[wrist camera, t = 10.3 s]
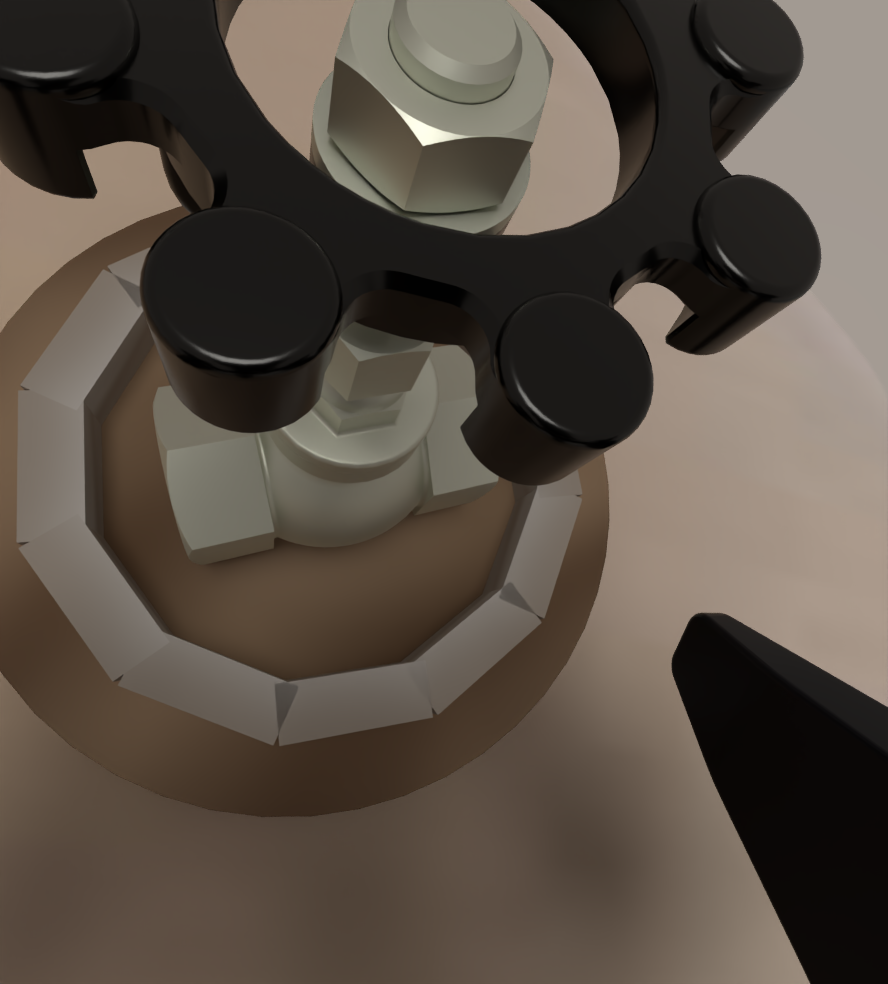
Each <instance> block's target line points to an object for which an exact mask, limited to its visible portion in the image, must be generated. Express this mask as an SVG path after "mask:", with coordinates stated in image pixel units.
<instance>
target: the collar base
mask: <svg viewBox="0 0 888 984" xmlns="http://www.w3.org/2000/svg"><path fill="white" fill-rule="evenodd" d="M189 214H190V213H189V212H188V211H187V210H186V209H185V208H184V207H183V206H181V207H177V208H174V209H172V210H169V211H166V212H163V213H160V214H157V215H154V216H151V217H149V218H146V219H143V220H140V221H138V222H136V223H134V224H132V225H130V226H128V227H126V228H124V229H122V230H120V231H118V232H116V233H114V234H112V235H110V236H108V237H106V238H104V239H102V240H100V241H99V242H97V243H96V244H94V245H93V246H91V247H90V248H88V249H87V250H85V251H84V252H82V253H81V254H79V255H78V256H76V257H75V258H73V259H72V260H70V261H69V262H67V263H66V264H65V265H64V266H63V267H62V268H61V269H59V270H58V271H57V272H56V273H55V274H54V275H52V276H51V277H50V278H49V279H48V280H47V281H46V282H44V283H43V284H42V285H41V286H40V287H39V288H37V289H36V290H35V292H34V293H33V294H32V295H31V296H30V297H29V298H28V300H27V301H26V302H25V303H24V304H23V305H22V306H21V308H20V309H19V310H18V311H17V312H16V313H15V314H14V316H13V317H12V318H11V319H10V320H9V321H8V322H7V324H6V326H5V327H4V329H3V330H2V332H1V333H0V671H1V673H2V674H3V676H4V677H5V678H6V679H7V680H8V682H9V683H10V684H11V685H12V686H13V688H14V689H15V690H16V691H17V693H18V694H19V695H20V696H21V697H22V699H23V700H24V701H25V702H26V704H27V705H28V706H29V707H30V708H31V710H32V711H33V712H34V713H35V714H36V715H37V716H38V717H39V718H40V719H42V720H43V721H44V722H45V723H46V724H47V725H48V726H49V727H51V728H52V729H53V730H54V731H55V732H56V733H57V734H58V735H60V736H61V737H62V738H63V739H64V740H65V741H66V742H67V743H69V744H70V745H71V746H72V747H73V748H75V749H76V750H78V751H79V752H81V753H83V754H84V755H86V756H87V757H89V758H90V759H92V760H93V761H95V762H97V763H98V764H100V765H101V766H103V767H104V768H106V769H107V770H109V771H110V772H112V773H114V774H115V775H117V776H119V777H121V778H124V779H126V780H128V781H130V782H133V783H135V784H137V785H139V786H141V787H144V788H146V789H148V790H150V791H152V792H155V793H157V794H159V795H161V796H164V797H168V798H171V799H175V800H178V801H182V802H185V803H189V804H192V805H196V806H199V807H203V808H206V809H210V810H215V811H223V812H230V813H238V814H245V815H253V816H260V817H280V816H316V815H323V814H329V813H336V812H342V811H349V810H356V809H361V808H364V807H368V806H371V805H374V804H378V803H381V802H384V801H388V800H391V799H395V798H398V797H401V796H404V795H407V794H409V793H411V792H413V791H416V790H418V789H420V788H422V787H424V786H427V785H429V784H431V783H433V782H435V781H438V780H440V779H442V778H444V777H446V776H448V775H449V774H451V773H453V772H454V771H456V770H457V769H459V768H461V767H462V766H464V765H465V764H467V763H469V762H470V761H472V760H473V759H475V758H477V757H478V756H480V755H481V754H483V753H484V752H485V751H487V750H488V749H489V748H490V747H491V746H493V745H494V744H495V743H496V742H497V741H499V740H500V739H501V738H502V737H503V736H505V735H506V734H507V733H508V732H509V731H511V730H512V729H513V728H514V727H515V726H516V725H517V724H518V723H519V722H520V721H521V720H522V719H523V718H524V717H525V716H526V714H527V713H528V712H529V711H530V710H531V709H532V708H533V707H534V706H535V705H536V704H537V702H538V701H539V700H540V699H541V698H542V697H543V696H544V695H545V693H546V692H547V690H548V689H549V687H550V686H551V685H552V683H553V682H554V680H555V679H556V677H557V676H558V675H559V673H560V672H561V670H562V669H563V667H564V666H565V665H566V663H567V661H568V659H569V657H570V656H571V654H572V652H573V650H574V648H575V646H576V644H577V642H578V640H579V638H580V636H581V634H582V632H583V630H584V628H585V626H586V623H587V621H588V618H589V615H590V612H591V609H592V607H593V604H594V601H595V598H596V596H597V593H598V589H599V584H600V580H601V576H602V571H603V567H604V562H605V558H606V550H607V539H608V529H609V490H608V479H607V472H606V465H605V459H604V453H603V454H601V455H600V456H598V457H596V458H595V459H593V460H592V461H590V462H588V463H587V464H585V465H584V466H582V467H580V468H579V469H577V470H576V471H574V472H572V473H571V474H569V475H568V476H566V477H564V478H563V479H561V480H559V481H556V482H553V483H550V484H546V485H539V486H528V485H521V484H516V483H513V482H510V481H507V480H505V479H503V478H501V477H499V478H498V482H497V484H496V485H495V487H493V488H492V489H491V490H490V491H489V492H487V493H486V494H485V495H483V496H482V497H480V498H478V499H476V500H475V501H473V502H470V503H466V504H461V505H457V506H453V507H449V508H444V509H440V510H436V511H432V512H427V513H423V514H419V515H414V514H413V512H412V511H411V512H410V513H409V514H408V515H407V516H406V517H405V518H404V519H403V520H401V521H400V522H399V523H398V524H396V525H395V526H394V527H392V528H391V529H389V530H388V531H386V532H384V533H382V534H380V535H378V536H376V537H374V538H372V539H369V540H367V541H364V542H360V543H357V544H352V545H347V546H340V547H312V546H305V545H301V544H296V543H293V542H289V541H286V540H284V539H281V538H278V537H277V538H275V539H274V549H269V550H265V551H261V552H256V553H252V554H248V555H244V556H239V557H235V558H231V559H227V560H222V561H218V562H214V563H209V564H205V565H200V564H196V563H194V562H192V561H191V560H190V559H189V557H188V555H187V553H186V551H185V548H184V545H183V542H182V539H181V536H180V533H179V529H178V526H177V523H176V519H175V516H174V512H173V508H172V504H171V500H170V496H169V492H168V488H167V484H166V480H165V475H164V471H163V466H162V462H161V457H160V452H159V447H158V441H157V436H156V430H155V423H154V415H153V401H154V398H155V395H156V392H157V389H158V387H164V386H171V385H170V383H169V381H168V378H167V375H166V373H165V370H164V367H163V364H162V361H161V359H160V356H159V353H158V350H157V348H156V345H155V342H154V340H153V337H152V334H151V331H150V329H149V326H148V323H147V320H146V318H145V315H144V311H143V308H142V305H141V298H140V289H139V286H140V274H141V270H142V266H143V263H144V260H145V257H146V255H147V253H148V251H149V249H150V248H151V246H152V244H153V243H154V241H155V240H156V239H157V238H158V237H159V236H160V234H161V233H162V232H163V231H164V230H165V229H167V228H168V227H169V226H171V225H172V224H173V223H174V222H176V221H177V220H179V219H181V218H183V217H185V216H187V215H189ZM440 346H447V345H446V344H435V343H434V344H433V347H440ZM457 346H459V345H457ZM459 347H460V348H461V349H462V350H463V351H464V352H465V353H467V354H468V355H469V356H470V354H469V353H468V351H467V350H466V348H465V347H464V346H459Z"/></svg>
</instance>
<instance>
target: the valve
mask: <svg viewBox="0 0 888 984" xmlns="http://www.w3.org/2000/svg"><path fill="white" fill-rule="evenodd" d="M242 1H243V0H0V160H1V162H2V163H3V164H4V165H5V166H6V167H7V168H8V169H9V170H10V171H11V172H12V173H13V174H15V175H16V176H18V177H19V178H21V179H22V180H24V181H25V182H27V183H28V184H30V185H32V186H33V187H36V188H38V189H41V190H43V191H46V192H49V193H51V194H54V195H59V196H65V197H70V198H86V199H94V197H95V196H96V194H97V189H96V187H95V184H94V181H93V178H92V176H91V173H90V170H89V167H88V165H87V162H86V159H85V157H84V153H83V150H85V149H92V148H96V147H100V146H103V145H107V144H111V143H115V142H122V141H133V142H143V143H147V144H151V145H153V146H156V147H159V151H160V155H161V160H162V164H163V168H164V171H165V174H166V177H167V180H168V182H169V185H170V188H171V189H172V191H173V192H174V194H175V195H176V197H177V199H178V200H179V202H180V203H181V205H182V206H183V207H184V208H185V209H186V210H187V211H188V212H189V213H190V214H189V215H187V216H185V217H183V218H181V219H179V220H177V221H176V222H174V223H173V224H172V225H171V226H169V227H168V228H167V229H165V230H164V231H163V232H162V233H161V234H160V236H159V237H158V238H157V239H156V240H155V241H154V243H153V244H152V246H151V248H150V249H149V251H148V253H147V255H146V257H145V260H144V263H143V266H142V270H141V274H140V286H139V289H140V298H141V305H142V308H143V311H144V315H145V318H146V320H147V323H148V326H149V329H150V331H151V334H152V337H153V340H154V342H155V345H156V348H157V350H158V353H159V356H160V359H161V361H162V364H163V367H164V370H165V373H166V375H167V378H168V381H169V383H170V385H171V386H164V387H158V389H157V392H156V395H155V398H154V401H153V415H154V423H155V430H156V436H157V441H158V447H159V452H160V457H161V462H162V466H163V471H164V475H165V480H166V484H167V488H168V492H169V496H170V500H171V504H172V508H173V512H174V516H175V519H176V523H177V526H178V529H179V533H180V536H181V539H182V542H183V545H184V548H185V551H186V553H187V555H188V557H189V559H190V560H191V561H192V562H194V563H196V564H200V565H205V564H209V563H214V562H218V561H222V560H227V559H231V558H235V557H239V556H244V555H248V554H252V553H256V552H261V551H265V550H269V549H274V539H275V538H277V537H278V538H281V539H284V540H286V541H289V542H293V543H296V544H301V545H305V546H312V547H340V546H347V545H352V544H357V543H360V542H364V541H367V540H369V539H372V538H374V537H376V536H378V535H380V534H382V533H384V532H386V531H388V530H389V529H391V528H392V527H394V526H395V525H396V524H398V523H399V522H400V521H401V520H403V519H404V518H405V517H406V516H407V515H408V514H409V513H410V512H411V511H412V512H413V514H414V515H419V514H423V513H427V512H432V511H436V510H440V509H444V508H449V507H453V506H457V505H461V504H466V503H470V502H473V501H475V500H476V499H478V498H480V497H482V496H483V495H485V494H486V493H487V492H489V491H490V490H491V489H492V488H493V487H495V485H496V484H497V482H498V478H499V477H501V478H503V479H505V480H507V481H510V482H513V483H516V484H521V485H528V486H539V485H546V484H550V483H553V482H556V481H559V480H561V479H563V478H564V477H566V476H568V475H569V474H571V473H572V472H574V471H576V470H577V469H579V468H580V467H582V466H584V465H585V464H587V463H588V462H590V461H592V460H593V459H595V458H596V457H598V456H600V455H601V454H603V453H604V452H606V451H608V450H609V449H611V448H612V447H614V446H616V445H617V444H619V443H620V442H622V441H624V440H625V439H627V438H628V437H629V436H630V435H631V434H632V433H633V432H634V431H635V430H636V429H638V427H639V426H640V424H641V423H642V421H643V420H644V418H645V417H646V414H647V412H648V410H649V407H650V405H651V400H652V395H653V371H652V365H651V362H650V358H649V355H648V352H647V350H646V348H645V346H644V344H643V342H642V340H641V338H640V337H639V335H638V334H637V332H636V331H635V330H634V328H633V327H632V325H631V324H630V323H629V322H628V321H627V320H626V319H625V318H624V317H623V316H622V315H621V314H620V313H619V312H617V311H616V310H614V305H615V304H616V303H617V302H618V301H619V300H620V299H621V298H622V297H623V296H624V295H625V294H626V293H627V292H628V291H629V290H630V289H631V288H632V287H633V286H634V285H635V284H638V283H644V282H650V283H656V284H659V285H661V286H664V287H666V288H667V289H669V290H670V291H672V292H673V293H674V294H675V295H676V296H677V297H678V298H679V299H680V300H681V301H682V302H683V303H684V304H685V306H684V308H683V310H682V312H681V314H680V315H679V317H678V318H677V320H676V321H675V323H674V325H673V326H672V328H671V329H670V331H669V332H668V334H667V335H666V343H667V344H668V345H670V346H672V347H674V348H675V349H677V350H680V351H683V352H686V353H689V354H694V355H709V354H715V353H717V352H720V351H722V350H724V349H726V348H727V347H729V346H730V345H732V344H733V343H735V342H736V341H738V340H739V339H741V338H742V337H744V336H745V335H746V334H748V333H749V332H751V331H752V330H754V329H755V328H757V327H758V326H760V325H761V324H762V323H764V322H765V321H767V320H768V319H770V318H771V317H773V316H774V315H776V314H777V313H778V312H780V311H781V310H783V309H784V308H786V307H787V306H789V305H790V304H792V303H793V302H794V301H796V300H797V299H799V298H800V297H802V296H803V295H804V294H805V293H806V292H807V291H808V290H809V289H810V288H811V287H812V285H813V284H814V282H815V280H816V278H817V276H818V273H819V270H820V263H821V248H820V243H819V239H818V235H817V232H816V230H815V227H814V225H813V224H812V222H811V220H810V218H809V216H808V215H807V213H806V212H805V211H804V210H803V208H802V207H801V205H800V204H799V203H798V202H797V201H796V200H795V199H794V198H793V197H792V196H791V195H790V194H789V193H787V192H786V191H784V190H783V189H781V188H780V187H779V186H777V185H776V184H773V183H771V182H769V181H767V180H765V179H763V178H759V177H755V176H751V175H733V176H732V175H731V174H730V173H729V172H728V171H727V170H726V169H725V168H724V167H723V165H722V164H721V163H720V161H722V160H723V159H724V158H726V157H727V156H728V155H729V154H730V152H731V151H732V150H733V149H734V148H735V147H736V146H737V145H738V144H739V143H740V141H741V140H742V139H743V138H744V137H745V136H746V135H747V134H748V133H749V131H750V130H751V129H752V128H753V127H754V126H755V125H756V124H757V122H758V121H759V120H760V119H761V118H762V117H763V116H764V115H765V114H766V113H767V111H768V110H769V109H770V108H771V107H772V106H773V105H774V103H776V102H777V101H778V99H779V98H780V97H781V96H782V95H783V94H784V93H785V92H786V91H787V89H788V88H789V87H790V86H791V85H792V84H793V83H794V81H795V80H796V78H797V77H798V76H799V73H800V71H801V68H802V65H803V46H802V42H801V38H800V36H799V33H798V31H797V29H796V27H795V26H794V24H793V22H792V21H791V19H789V17H788V15H787V14H786V13H785V12H784V11H783V10H782V9H781V8H780V7H779V6H778V5H777V4H776V3H775V2H774V1H773V0H531V1H532V2H534V3H535V4H536V5H537V6H538V7H540V8H541V9H542V10H543V11H544V12H545V13H546V14H548V15H549V16H550V17H551V18H552V19H553V20H554V21H555V22H556V23H557V24H558V25H559V26H560V27H561V28H562V29H563V30H564V31H565V32H566V33H567V34H568V36H569V37H570V38H571V39H572V40H573V42H574V43H575V44H576V45H577V47H578V48H579V49H580V50H581V52H582V53H583V55H584V56H585V58H586V59H587V60H588V62H589V63H590V65H591V66H592V68H593V70H594V72H595V74H596V76H597V78H598V80H599V82H600V84H601V86H602V88H603V90H604V92H605V94H606V96H607V98H608V100H609V103H610V107H611V111H612V114H613V118H614V122H615V125H616V129H617V133H618V138H619V149H620V165H619V176H618V181H617V187H616V191H615V194H614V197H613V200H612V203H611V204H609V205H608V206H607V207H605V208H604V209H603V210H601V211H600V212H598V213H597V214H596V215H594V216H592V217H589V218H587V219H585V220H582V221H580V222H578V223H575V224H573V225H571V226H569V227H565V228H560V229H555V230H550V231H545V232H540V233H535V234H530V235H502V234H503V232H504V231H505V229H506V227H507V225H508V223H509V221H510V220H511V218H512V216H513V214H514V212H515V210H516V209H517V207H518V205H519V203H520V201H521V199H522V198H523V196H524V194H525V191H526V188H527V185H528V181H529V176H530V153H529V150H530V148H531V146H532V144H533V142H534V138H535V135H536V132H537V128H538V125H539V121H540V118H541V114H542V111H543V107H544V103H545V99H546V95H547V91H548V87H549V82H550V77H551V72H552V66H553V58H552V56H551V55H550V53H549V52H548V50H547V48H546V47H545V45H544V44H543V42H542V41H541V40H540V38H539V37H538V35H537V34H536V32H535V31H534V30H533V29H532V27H531V26H530V25H529V24H528V22H527V21H526V20H525V19H524V18H523V17H522V16H521V15H520V13H519V12H518V11H517V10H516V9H515V8H514V7H512V6H511V5H510V4H509V3H508V2H507V1H506V0H355V2H354V5H353V7H352V10H351V12H350V15H349V18H348V20H347V23H346V26H345V29H344V32H343V35H342V38H341V41H340V44H339V47H338V50H337V53H336V56H335V64H334V71H332V72H331V73H330V74H329V76H328V77H327V78H326V80H325V81H324V82H323V84H322V86H321V88H320V89H319V92H318V94H317V97H316V100H315V104H314V110H313V120H312V132H311V148H310V159H309V161H308V160H307V159H306V158H305V157H304V156H303V155H302V154H301V153H299V152H298V151H297V150H296V149H295V148H294V147H293V146H292V145H290V144H289V143H288V142H287V141H286V140H285V139H284V137H283V136H282V135H281V134H280V133H279V132H278V131H277V130H276V129H275V128H274V127H273V126H272V125H271V123H270V122H269V121H268V120H267V119H266V117H265V116H264V114H263V113H262V111H261V110H260V108H259V107H258V105H257V104H256V102H255V101H254V99H253V98H252V96H251V95H250V93H249V92H248V90H247V89H246V88H245V86H244V85H243V83H242V82H241V80H240V79H239V77H238V75H237V73H236V70H235V68H234V65H233V63H232V60H231V58H230V55H229V52H228V50H227V47H226V45H225V40H226V36H227V33H228V29H229V26H230V23H231V21H232V19H233V17H234V15H235V13H236V11H237V9H238V6H239V5H240V4H241V2H242ZM434 343H435V344H446V345H447V346H440V347H433V344H434ZM457 345H459V346H464V347H465V348H466V350H467V351H468V353H469V354H470V356H469V355H468V354H467V353H465V352H464V351H463V350H462V349H461V348H460V347H459V346H457Z"/></svg>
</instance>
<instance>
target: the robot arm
mask: <svg viewBox="0 0 888 984" xmlns="http://www.w3.org/2000/svg"><path fill="white" fill-rule="evenodd" d="M672 673H673V677H674V680H675V682H676V685H677V688H678V690H679V693H680V696H681V698H682V701H683V704H684V706H685V709H686V712H687V714H688V717H689V720H690V722H691V725H692V728H693V730H694V733H695V736H696V738H697V741H698V744H699V746H700V749H701V752H702V754H703V757H704V760H705V762H706V765H707V767H708V770H709V772H710V775H711V777H712V780H713V782H714V784H715V786H716V788H717V791H718V793H719V795H720V797H721V799H722V801H723V804H724V806H725V808H726V810H727V812H728V814H729V816H730V818H731V820H732V822H733V824H734V826H735V828H736V831H737V833H738V835H739V837H740V839H741V841H742V843H743V845H744V847H745V849H746V851H747V853H748V855H749V857H750V860H751V862H752V864H753V866H754V868H755V870H756V872H757V874H758V876H759V878H760V880H761V882H762V884H763V887H764V889H765V891H766V893H767V895H768V897H769V899H770V901H771V903H772V905H773V907H774V909H775V911H776V913H777V916H778V918H779V920H780V922H781V924H782V926H783V928H784V930H785V932H786V934H787V936H788V938H789V940H790V943H791V945H792V947H793V949H794V951H795V953H796V955H797V957H798V959H799V961H800V963H801V965H802V967H803V969H804V972H805V974H806V976H807V978H808V980H809V982H810V984H888V707H886V706H885V705H883V704H881V703H880V702H878V701H876V700H874V699H873V698H871V697H869V696H867V695H866V694H864V693H862V692H860V691H859V690H857V689H855V688H854V687H852V686H850V685H848V684H847V683H845V682H843V681H841V680H840V679H838V678H836V677H834V676H833V675H831V674H829V673H828V672H826V671H824V670H822V669H821V668H819V667H817V666H815V665H814V664H812V663H810V662H808V661H807V660H805V659H803V658H802V657H800V656H798V655H796V654H795V653H793V652H791V651H789V650H788V649H786V648H784V647H782V646H781V645H779V644H777V643H776V642H774V641H772V640H770V639H769V638H767V637H765V636H763V635H762V634H760V633H758V632H756V631H755V630H753V629H751V628H750V627H748V626H746V625H744V624H743V623H741V622H739V621H737V620H736V619H734V618H732V617H730V616H729V615H726V614H723V613H698V614H695V615H694V616H693V617H692V618H691V619H690V621H689V622H688V624H687V627H686V629H685V631H684V633H683V635H682V637H681V639H680V642H679V644H678V646H677V648H676V650H675V652H674V655H673V657H672Z"/></svg>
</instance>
